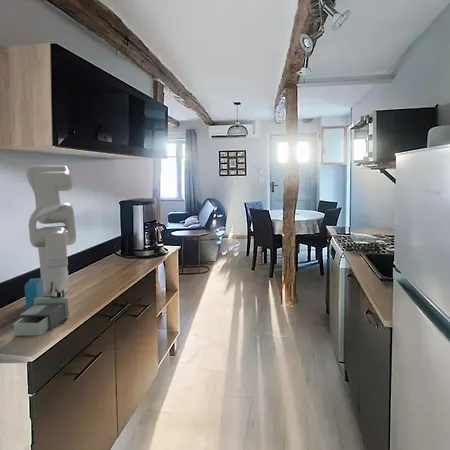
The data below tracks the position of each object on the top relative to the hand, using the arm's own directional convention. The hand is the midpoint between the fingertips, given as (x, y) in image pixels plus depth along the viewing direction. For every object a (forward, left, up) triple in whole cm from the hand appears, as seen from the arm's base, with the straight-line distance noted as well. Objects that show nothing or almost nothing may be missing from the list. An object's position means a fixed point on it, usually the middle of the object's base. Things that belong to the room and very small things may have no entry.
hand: (60, 306), depth 155 cm
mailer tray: (+12, -2, -3) cm, 13 cm away
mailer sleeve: (+10, -2, -3) cm, 11 cm away
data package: (-7, -14, -4) cm, 16 cm away
